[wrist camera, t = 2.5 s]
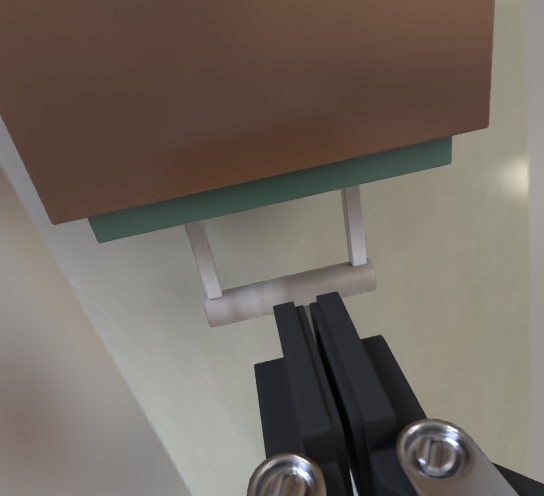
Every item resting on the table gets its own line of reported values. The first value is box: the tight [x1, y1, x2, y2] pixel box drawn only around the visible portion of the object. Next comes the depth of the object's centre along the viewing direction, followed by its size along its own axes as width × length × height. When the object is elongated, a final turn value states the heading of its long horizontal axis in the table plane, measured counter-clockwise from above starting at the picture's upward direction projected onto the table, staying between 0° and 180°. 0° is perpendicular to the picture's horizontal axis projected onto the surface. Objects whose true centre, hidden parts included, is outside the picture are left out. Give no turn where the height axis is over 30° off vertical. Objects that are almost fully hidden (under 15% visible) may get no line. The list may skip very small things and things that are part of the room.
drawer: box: [87, 136, 452, 328], centre depth 16 cm, size 20×11×9 cm, turn 10°
